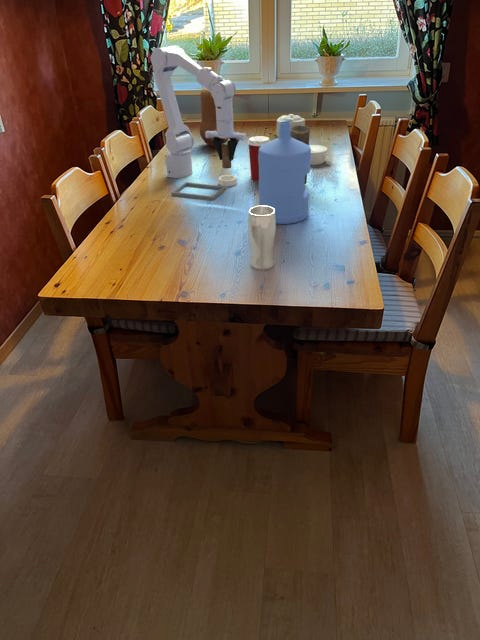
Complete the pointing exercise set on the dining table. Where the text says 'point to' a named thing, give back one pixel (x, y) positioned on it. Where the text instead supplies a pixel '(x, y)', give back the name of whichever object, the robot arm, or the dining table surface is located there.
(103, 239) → the dining table surface
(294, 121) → the lumpy-topped squat cylinder
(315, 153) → the ramekin
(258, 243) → the beer glass
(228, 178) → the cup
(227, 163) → the dowel
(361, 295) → the dining table surface
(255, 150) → the coffee cup
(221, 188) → the tray
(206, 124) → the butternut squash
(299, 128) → the brown rounded cylinder
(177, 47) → the robot arm
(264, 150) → the water jug
